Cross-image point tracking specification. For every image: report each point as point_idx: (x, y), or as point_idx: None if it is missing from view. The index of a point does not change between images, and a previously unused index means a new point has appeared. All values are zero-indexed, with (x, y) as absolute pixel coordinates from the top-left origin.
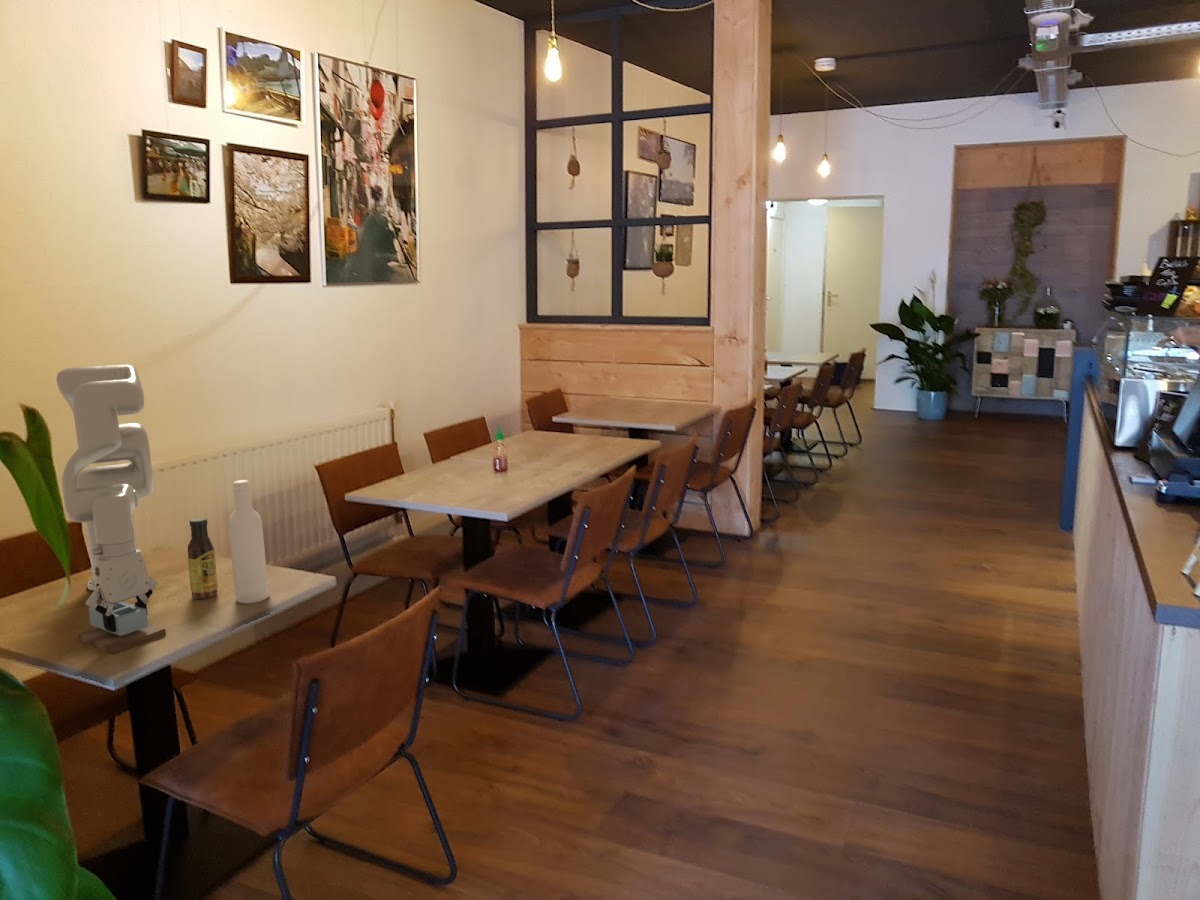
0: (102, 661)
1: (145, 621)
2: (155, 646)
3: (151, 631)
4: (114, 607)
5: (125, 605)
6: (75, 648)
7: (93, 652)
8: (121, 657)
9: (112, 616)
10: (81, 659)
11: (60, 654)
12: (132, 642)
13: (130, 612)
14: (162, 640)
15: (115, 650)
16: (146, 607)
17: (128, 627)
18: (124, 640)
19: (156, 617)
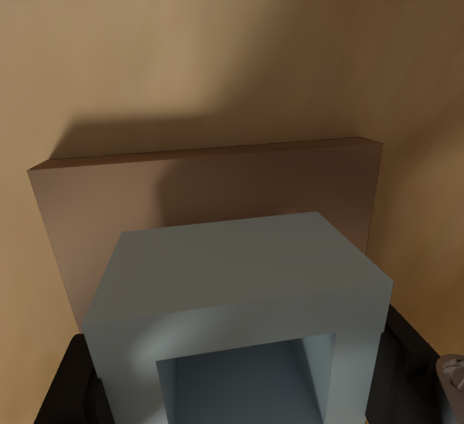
0: (443, 90)
1: (132, 249)
2: (173, 27)
3: (120, 195)
4: None
5: None
6: None
7: (383, 234)
8: (373, 49)
9: (414, 339)
10: (452, 200)
11: (439, 308)
12: (264, 148)
13: (176, 404)
14: (98, 90)
15: (357, 141)
16: (51, 390)
17: (270, 234)
18: (291, 190)
19: (10, 403)
